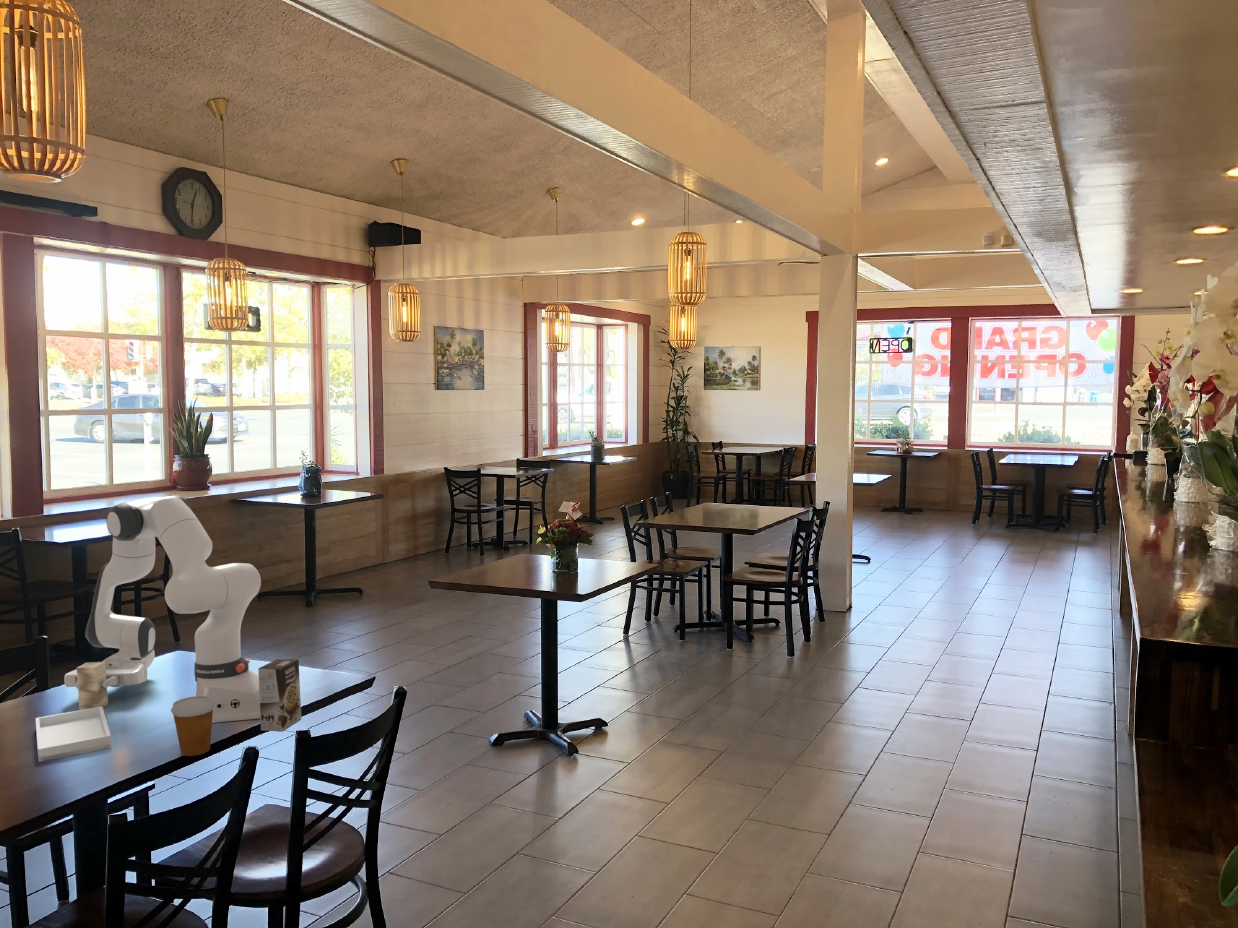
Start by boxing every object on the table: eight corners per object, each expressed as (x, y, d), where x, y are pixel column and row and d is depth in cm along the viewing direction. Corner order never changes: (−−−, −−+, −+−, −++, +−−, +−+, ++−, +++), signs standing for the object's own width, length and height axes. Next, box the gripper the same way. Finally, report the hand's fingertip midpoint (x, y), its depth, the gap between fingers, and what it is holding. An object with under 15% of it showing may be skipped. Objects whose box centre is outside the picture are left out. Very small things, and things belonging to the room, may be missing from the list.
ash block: (107, 704, 259) (105, 661, 259) (98, 710, 255) (95, 667, 254) (89, 704, 259) (86, 662, 258) (79, 711, 254) (76, 667, 253)
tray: (111, 747, 227) (110, 735, 227) (38, 761, 219) (37, 749, 219) (102, 717, 249) (102, 706, 249) (36, 729, 241) (35, 717, 241)
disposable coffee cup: (206, 758, 219) (203, 708, 218) (166, 759, 219) (162, 708, 218) (224, 742, 229) (221, 694, 228) (185, 743, 229) (182, 695, 228)
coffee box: (283, 732, 235) (280, 668, 234) (260, 730, 236) (256, 667, 235) (302, 719, 244) (299, 658, 243) (280, 718, 245) (277, 657, 244)
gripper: (79, 660, 269) (51, 675, 255) (151, 658, 269) (127, 672, 255) (80, 682, 269) (52, 697, 256) (152, 679, 270) (128, 695, 256)
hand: (90, 685), depth 256 cm, fingers closed on ash block, 5 cm apart
